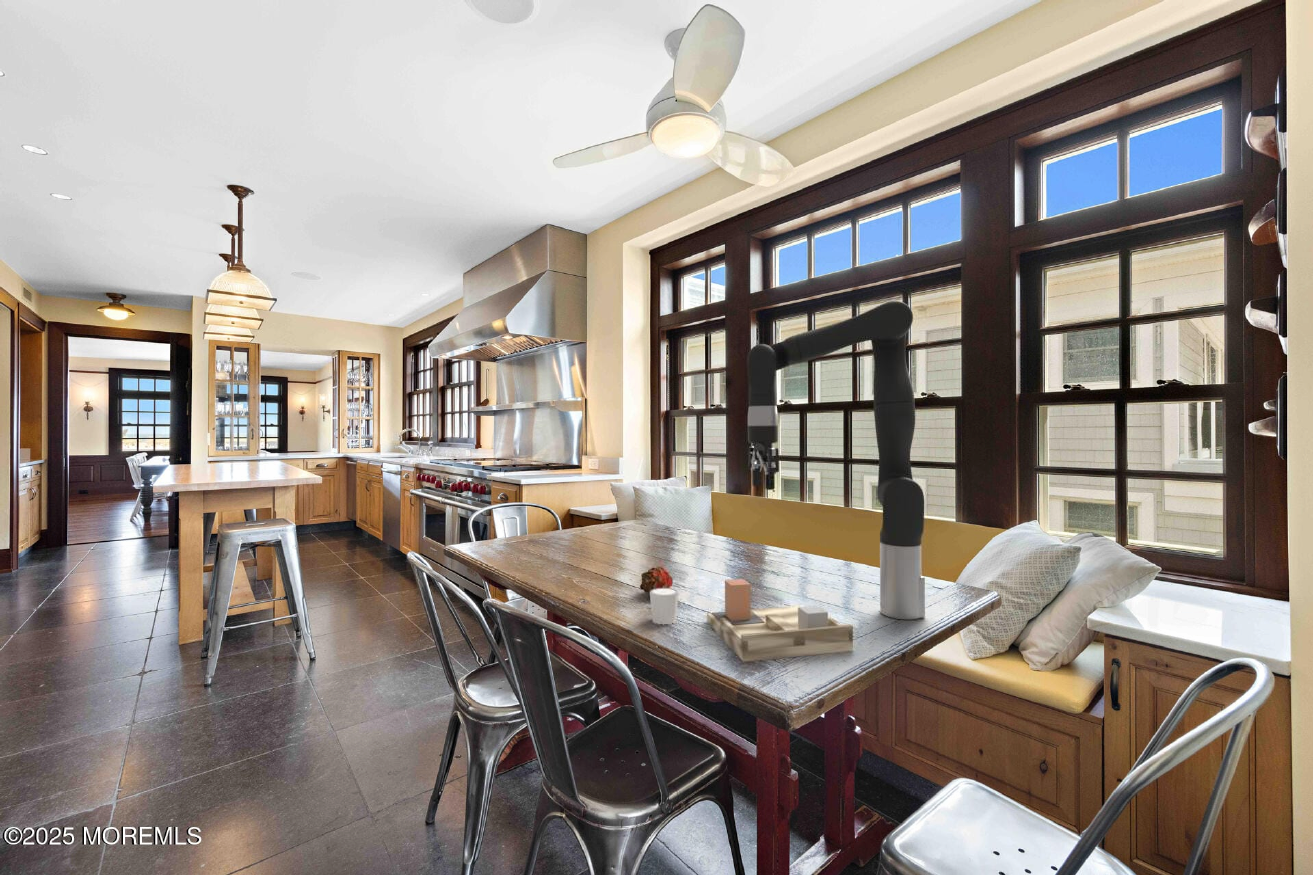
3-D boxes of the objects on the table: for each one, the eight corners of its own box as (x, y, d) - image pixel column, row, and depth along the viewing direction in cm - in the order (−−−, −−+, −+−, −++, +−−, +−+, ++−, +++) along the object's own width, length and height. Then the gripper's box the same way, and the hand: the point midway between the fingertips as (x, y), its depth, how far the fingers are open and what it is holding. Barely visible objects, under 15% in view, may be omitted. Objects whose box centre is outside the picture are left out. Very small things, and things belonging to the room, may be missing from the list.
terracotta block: (725, 614, 134) (724, 580, 134) (743, 613, 135) (743, 579, 134) (731, 620, 129) (731, 585, 129) (750, 619, 130) (750, 584, 130)
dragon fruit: (649, 608, 151) (657, 601, 163) (675, 589, 150) (681, 584, 162) (631, 580, 153) (640, 576, 165) (656, 562, 152) (664, 558, 164)
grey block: (798, 630, 123) (798, 607, 123) (817, 628, 124) (817, 605, 124) (807, 637, 119) (807, 613, 119) (827, 635, 120) (827, 612, 120)
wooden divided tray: (707, 621, 136) (706, 600, 136) (799, 613, 140) (799, 593, 140) (743, 661, 112) (743, 636, 112) (852, 650, 117) (852, 626, 117)
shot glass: (658, 627, 132) (658, 597, 132) (645, 618, 138) (644, 589, 138) (684, 622, 135) (684, 592, 135) (670, 614, 141) (669, 585, 141)
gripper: (788, 423, 140) (789, 490, 141) (765, 424, 154) (766, 484, 155) (759, 424, 139) (760, 491, 139) (739, 424, 153) (739, 485, 153)
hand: (763, 487), depth 147 cm, fingers open, 8 cm apart
